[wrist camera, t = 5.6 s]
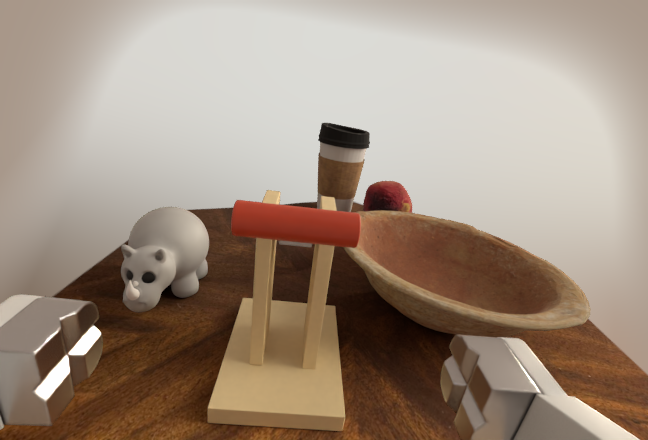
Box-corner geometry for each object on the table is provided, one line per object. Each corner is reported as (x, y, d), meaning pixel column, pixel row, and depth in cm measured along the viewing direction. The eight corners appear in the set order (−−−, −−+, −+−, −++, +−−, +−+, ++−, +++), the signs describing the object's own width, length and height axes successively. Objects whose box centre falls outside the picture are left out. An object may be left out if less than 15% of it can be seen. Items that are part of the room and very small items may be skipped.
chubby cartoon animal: (85, 338, 28) (69, 244, 25) (153, 263, 39) (148, 192, 36) (175, 346, 28) (171, 256, 25) (217, 270, 39) (218, 201, 36)
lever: (357, 261, 13) (364, 200, 13) (227, 248, 13) (234, 185, 13) (329, 247, 25) (332, 215, 26) (261, 240, 25) (265, 208, 25)
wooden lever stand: (342, 431, 23) (380, 252, 18) (207, 423, 23) (206, 234, 17) (333, 317, 34) (355, 185, 29) (242, 309, 34) (248, 173, 28)
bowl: (622, 394, 30) (670, 320, 27) (359, 411, 25) (380, 322, 22) (471, 258, 51) (488, 208, 48) (314, 253, 46) (321, 197, 43)
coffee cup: (310, 202, 65) (319, 120, 59) (354, 206, 65) (367, 126, 60) (309, 219, 57) (320, 127, 51) (359, 224, 58) (375, 134, 52)
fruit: (410, 228, 59) (421, 183, 56) (399, 243, 52) (411, 194, 49) (368, 216, 62) (376, 172, 59) (352, 229, 55) (360, 181, 52)
